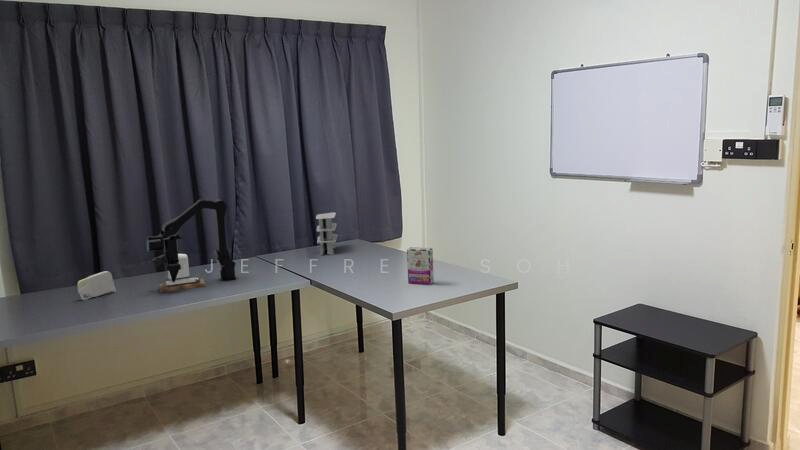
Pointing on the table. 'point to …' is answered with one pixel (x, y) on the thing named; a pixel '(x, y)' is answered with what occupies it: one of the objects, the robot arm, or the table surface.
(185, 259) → the photo printer
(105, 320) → the table surface
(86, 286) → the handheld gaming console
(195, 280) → the bar
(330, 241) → the file organizer
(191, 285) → the walnut board
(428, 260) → the candy bar box
